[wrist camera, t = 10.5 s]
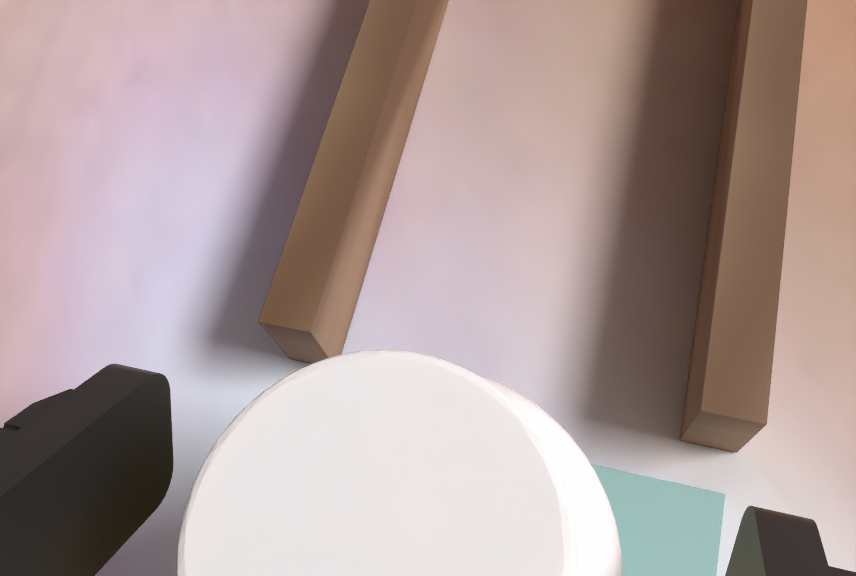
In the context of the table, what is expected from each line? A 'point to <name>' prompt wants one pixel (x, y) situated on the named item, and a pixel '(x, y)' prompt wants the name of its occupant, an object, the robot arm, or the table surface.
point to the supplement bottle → (396, 480)
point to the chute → (727, 234)
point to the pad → (663, 524)
